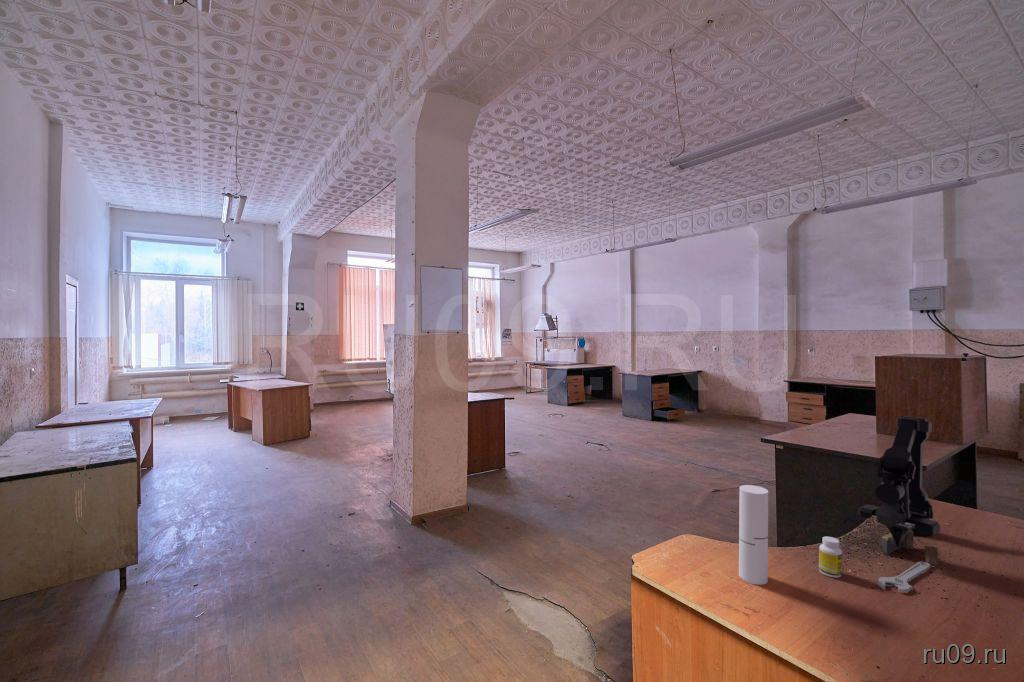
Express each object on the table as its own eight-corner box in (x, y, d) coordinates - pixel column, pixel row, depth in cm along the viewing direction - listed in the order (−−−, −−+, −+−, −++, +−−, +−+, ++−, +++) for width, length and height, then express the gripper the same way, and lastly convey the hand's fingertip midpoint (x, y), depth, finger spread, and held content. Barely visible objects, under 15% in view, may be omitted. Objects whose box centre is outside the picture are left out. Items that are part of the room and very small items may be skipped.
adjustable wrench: (920, 565, 136) (920, 559, 136) (948, 576, 130) (948, 569, 130) (873, 585, 125) (874, 579, 125) (902, 598, 119) (902, 591, 119)
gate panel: (898, 543, 148) (899, 528, 147) (904, 545, 146) (905, 530, 146) (881, 551, 142) (881, 536, 142) (887, 553, 141) (887, 538, 141)
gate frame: (900, 545, 148) (901, 528, 148) (910, 546, 147) (910, 529, 147) (927, 566, 134) (928, 548, 134) (938, 567, 134) (938, 549, 134)
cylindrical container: (771, 586, 125) (772, 494, 124) (743, 583, 126) (743, 492, 125) (762, 572, 131) (763, 485, 131) (735, 569, 133) (736, 484, 132)
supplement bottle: (841, 580, 127) (842, 545, 127) (818, 574, 130) (818, 540, 130) (842, 572, 131) (842, 538, 131) (819, 566, 135) (819, 533, 135)
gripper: (848, 492, 146) (850, 541, 145) (923, 510, 129) (925, 565, 129) (866, 486, 151) (868, 534, 151) (940, 502, 135) (942, 556, 134)
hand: (898, 546), depth 141 cm, fingers closed
